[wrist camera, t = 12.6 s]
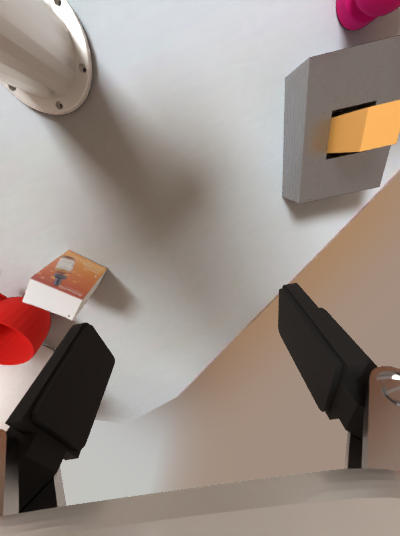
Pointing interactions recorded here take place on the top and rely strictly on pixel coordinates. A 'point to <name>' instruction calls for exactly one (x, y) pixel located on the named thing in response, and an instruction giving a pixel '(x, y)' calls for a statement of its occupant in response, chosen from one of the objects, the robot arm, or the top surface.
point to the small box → (64, 284)
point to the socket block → (319, 119)
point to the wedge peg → (365, 128)
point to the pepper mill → (363, 11)
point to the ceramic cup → (21, 330)
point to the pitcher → (19, 382)
